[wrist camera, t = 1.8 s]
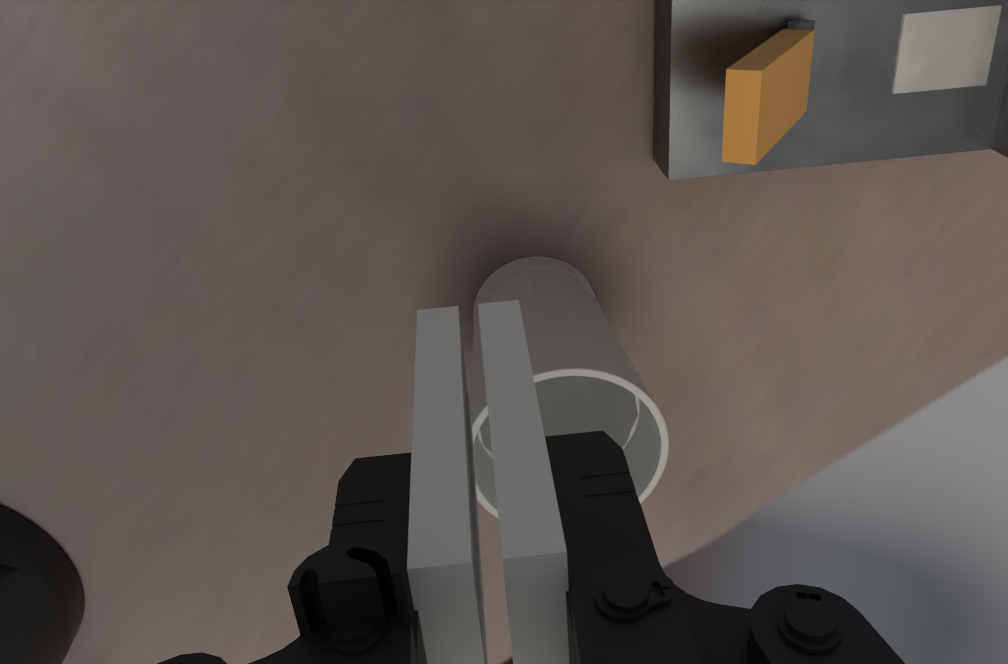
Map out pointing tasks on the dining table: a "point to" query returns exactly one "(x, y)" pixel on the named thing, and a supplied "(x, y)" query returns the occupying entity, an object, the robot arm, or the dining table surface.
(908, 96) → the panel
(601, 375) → the cup
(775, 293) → the dining table surface
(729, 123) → the paddle
